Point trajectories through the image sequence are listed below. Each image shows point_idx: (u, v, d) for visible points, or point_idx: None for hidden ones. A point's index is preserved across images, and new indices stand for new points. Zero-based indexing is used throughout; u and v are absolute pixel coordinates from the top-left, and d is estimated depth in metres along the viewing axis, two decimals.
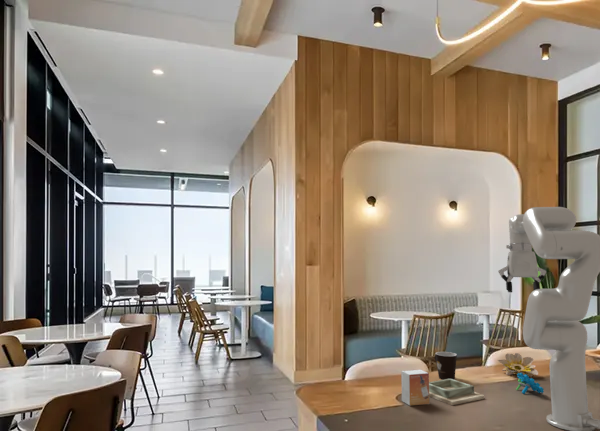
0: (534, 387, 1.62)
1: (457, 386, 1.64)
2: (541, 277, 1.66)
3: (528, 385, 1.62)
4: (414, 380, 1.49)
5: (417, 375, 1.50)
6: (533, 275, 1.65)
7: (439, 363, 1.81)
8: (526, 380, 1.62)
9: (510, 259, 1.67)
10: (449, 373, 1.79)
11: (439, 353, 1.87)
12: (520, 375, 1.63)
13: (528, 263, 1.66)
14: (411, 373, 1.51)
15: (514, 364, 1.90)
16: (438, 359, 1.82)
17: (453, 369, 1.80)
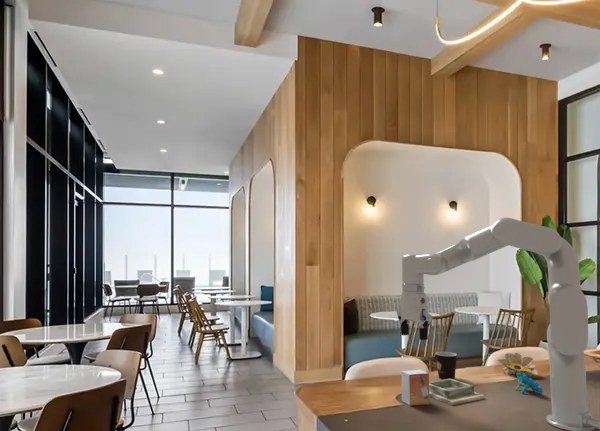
0: (533, 387, 1.62)
1: (457, 386, 1.64)
2: None
3: (527, 385, 1.62)
4: (414, 380, 1.49)
5: (417, 375, 1.50)
6: None
7: (439, 363, 1.81)
8: (525, 380, 1.62)
9: (426, 302, 1.52)
10: (449, 373, 1.79)
11: (439, 353, 1.87)
12: (519, 375, 1.63)
13: None
14: (411, 373, 1.51)
15: (514, 364, 1.91)
16: (438, 359, 1.82)
17: (453, 369, 1.80)
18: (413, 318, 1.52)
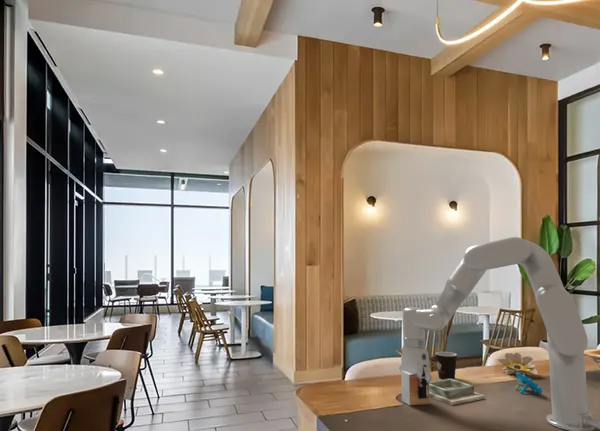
0: (533, 387, 1.62)
1: (457, 386, 1.64)
2: None
3: (526, 385, 1.62)
4: (415, 380, 1.49)
5: None
6: None
7: (439, 363, 1.81)
8: (524, 380, 1.62)
9: (427, 357, 1.50)
10: (449, 373, 1.79)
11: (439, 353, 1.87)
12: (518, 375, 1.63)
13: None
14: (411, 373, 1.51)
15: (514, 363, 1.91)
16: (438, 359, 1.82)
17: (453, 369, 1.80)
18: None
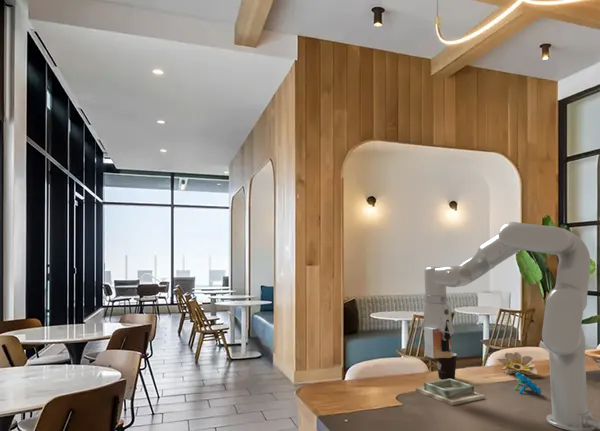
0: (532, 387, 1.62)
1: (457, 386, 1.64)
2: None
3: (526, 385, 1.62)
4: (438, 334, 1.56)
5: None
6: None
7: (439, 363, 1.81)
8: (524, 380, 1.63)
9: (450, 313, 1.57)
10: (449, 373, 1.79)
11: None
12: (518, 375, 1.63)
13: None
14: (434, 328, 1.58)
15: (513, 363, 1.92)
16: (438, 359, 1.82)
17: (453, 369, 1.80)
18: (437, 328, 1.57)
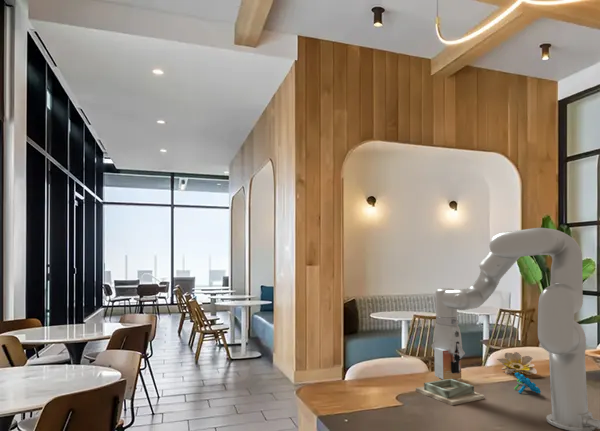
0: (531, 387, 1.62)
1: (457, 386, 1.64)
2: None
3: (525, 385, 1.62)
4: (448, 356, 1.59)
5: None
6: None
7: None
8: (523, 380, 1.63)
9: (460, 335, 1.59)
10: None
11: None
12: (517, 375, 1.64)
13: None
14: (444, 349, 1.60)
15: (513, 363, 1.92)
16: None
17: None
18: None
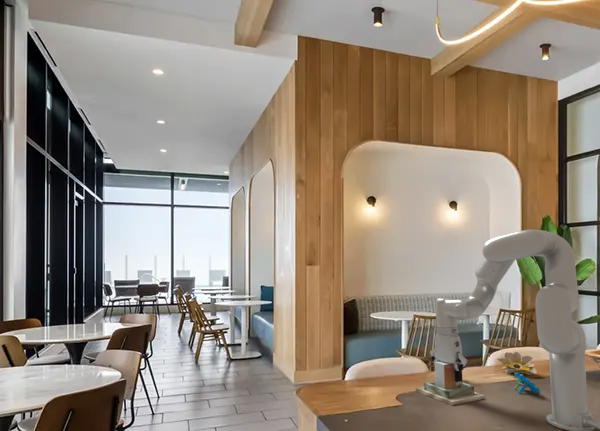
0: (531, 387, 1.62)
1: None
2: None
3: (524, 385, 1.62)
4: (449, 370, 1.58)
5: (451, 365, 1.59)
6: None
7: None
8: (523, 380, 1.63)
9: (460, 345, 1.59)
10: None
11: None
12: (517, 375, 1.64)
13: None
14: (445, 363, 1.59)
15: (513, 363, 1.92)
16: None
17: None
18: (448, 360, 1.58)
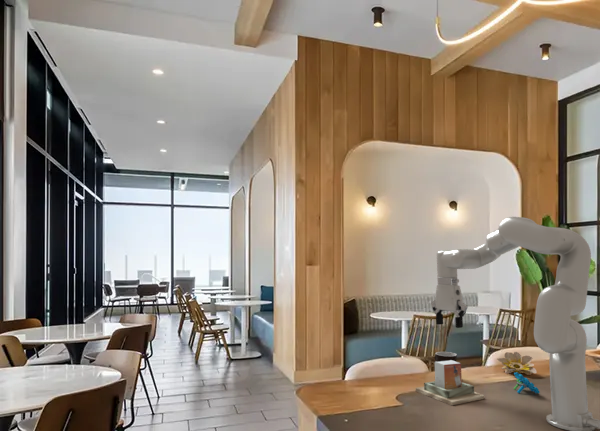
0: (530, 387, 1.62)
1: None
2: None
3: (524, 385, 1.62)
4: (449, 370, 1.58)
5: (451, 365, 1.59)
6: None
7: None
8: (522, 380, 1.63)
9: (460, 293, 1.67)
10: None
11: (439, 353, 1.87)
12: (516, 375, 1.64)
13: None
14: (445, 363, 1.59)
15: (513, 363, 1.93)
16: (438, 359, 1.82)
17: None
18: (449, 308, 1.66)
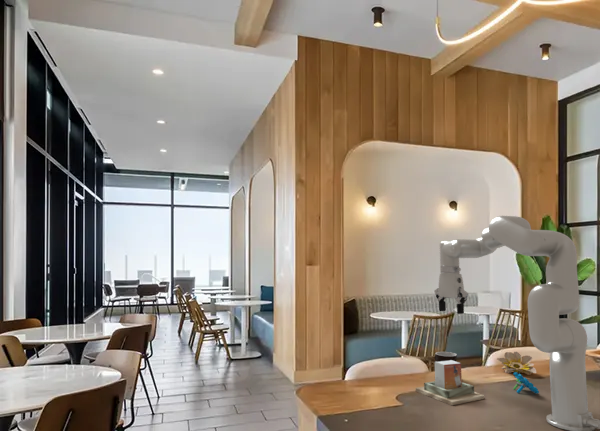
0: (530, 387, 1.62)
1: None
2: None
3: (523, 385, 1.62)
4: (449, 370, 1.58)
5: (451, 365, 1.59)
6: None
7: None
8: (521, 380, 1.63)
9: (462, 281, 1.76)
10: None
11: (439, 353, 1.87)
12: (515, 374, 1.64)
13: None
14: (445, 363, 1.59)
15: (513, 362, 1.93)
16: (438, 359, 1.82)
17: None
18: (451, 295, 1.75)
